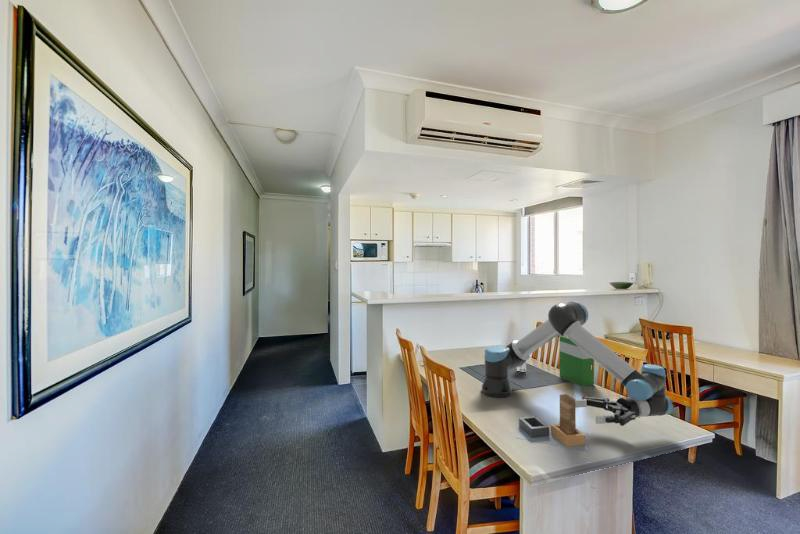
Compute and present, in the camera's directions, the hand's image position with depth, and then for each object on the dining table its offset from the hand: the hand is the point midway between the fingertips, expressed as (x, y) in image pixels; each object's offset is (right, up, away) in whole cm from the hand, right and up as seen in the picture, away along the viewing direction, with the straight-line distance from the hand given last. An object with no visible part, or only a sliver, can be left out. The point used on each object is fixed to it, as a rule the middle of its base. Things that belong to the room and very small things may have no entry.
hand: (583, 411), depth 127 cm
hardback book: (+32, -10, +65) cm, 73 cm away
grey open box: (-17, -10, +6) cm, 20 cm away
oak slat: (-6, -10, -1) cm, 12 cm away
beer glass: (+6, -10, +81) cm, 82 cm away
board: (-12, -11, +2) cm, 16 cm away
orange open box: (-6, -10, -1) cm, 12 cm away
